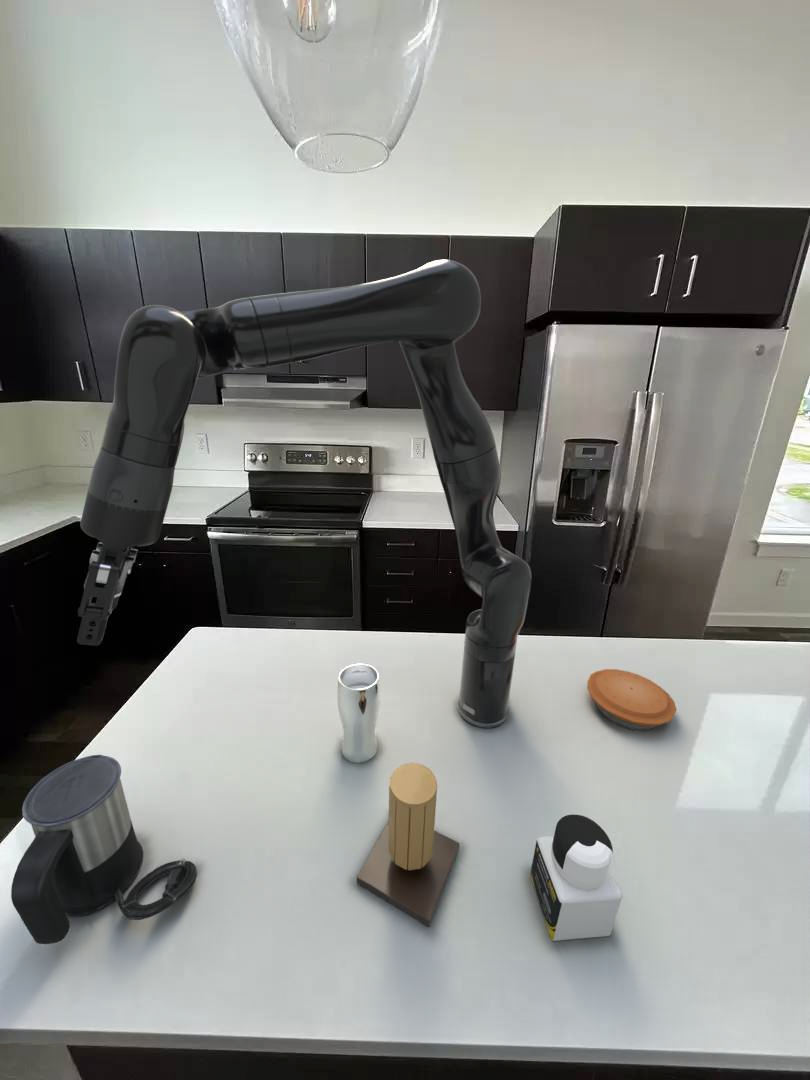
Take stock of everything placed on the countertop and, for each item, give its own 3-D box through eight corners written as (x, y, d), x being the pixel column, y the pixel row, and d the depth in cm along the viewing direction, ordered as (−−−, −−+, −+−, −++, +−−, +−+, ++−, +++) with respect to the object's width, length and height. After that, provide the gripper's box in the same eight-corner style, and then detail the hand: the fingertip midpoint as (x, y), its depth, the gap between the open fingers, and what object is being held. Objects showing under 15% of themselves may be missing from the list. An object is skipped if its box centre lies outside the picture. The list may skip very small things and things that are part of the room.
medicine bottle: (528, 874, 55) (541, 807, 51) (581, 870, 55) (598, 803, 51) (551, 942, 48) (568, 871, 44) (611, 937, 49) (633, 866, 45)
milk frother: (67, 852, 56) (37, 767, 51) (200, 809, 62) (184, 730, 57) (28, 985, 44) (-18, 890, 39) (197, 916, 50) (177, 826, 45)
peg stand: (394, 816, 62) (395, 741, 57) (459, 849, 58) (467, 771, 53) (356, 883, 53) (354, 802, 49) (429, 927, 49) (435, 843, 44)
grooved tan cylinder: (400, 817, 58) (402, 756, 54) (440, 837, 55) (445, 774, 52) (380, 855, 53) (380, 790, 49) (422, 879, 51) (426, 813, 47)
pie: (649, 686, 90) (655, 666, 89) (687, 743, 76) (695, 721, 74) (575, 680, 92) (579, 660, 90) (598, 735, 77) (603, 713, 76)
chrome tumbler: (373, 769, 69) (373, 694, 64) (333, 761, 70) (330, 686, 65) (384, 736, 76) (385, 666, 71) (346, 729, 77) (345, 660, 72)
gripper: (161, 522, 43) (124, 661, 46) (172, 490, 55) (142, 602, 58) (70, 502, 39) (36, 654, 42) (103, 473, 51) (75, 592, 54)
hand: (97, 624), depth 50 cm, fingers open, 8 cm apart
